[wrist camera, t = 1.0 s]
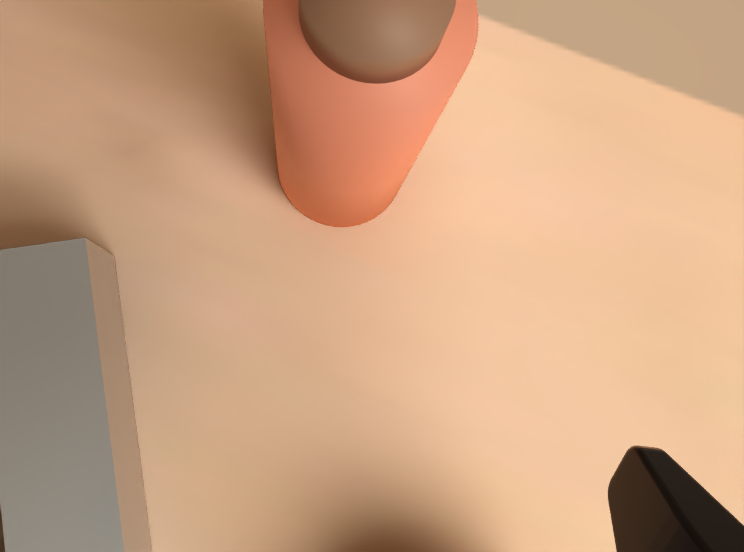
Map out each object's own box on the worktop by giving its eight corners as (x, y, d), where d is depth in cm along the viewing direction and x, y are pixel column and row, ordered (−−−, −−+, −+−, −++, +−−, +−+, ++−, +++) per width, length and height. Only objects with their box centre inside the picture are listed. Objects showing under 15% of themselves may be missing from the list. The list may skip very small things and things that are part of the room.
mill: (412, 217, 23) (513, 81, 12) (288, 235, 23) (280, 109, 12) (390, 99, 24) (468, -129, 13) (268, 114, 23) (243, -112, 12)
